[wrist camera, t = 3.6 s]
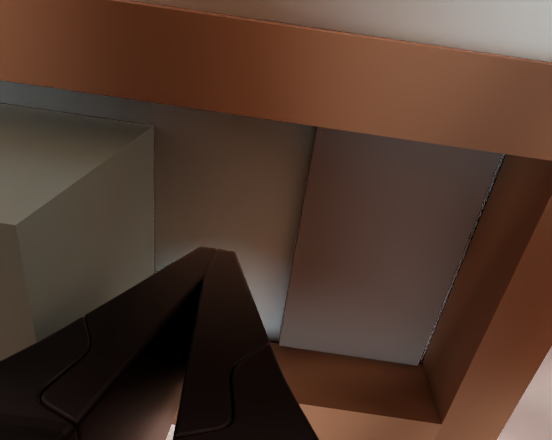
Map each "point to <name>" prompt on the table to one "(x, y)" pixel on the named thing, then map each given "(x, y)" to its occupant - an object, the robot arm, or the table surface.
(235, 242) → the table surface
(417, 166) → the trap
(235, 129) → the table surface
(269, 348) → the robot arm
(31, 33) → the channel
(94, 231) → the block
